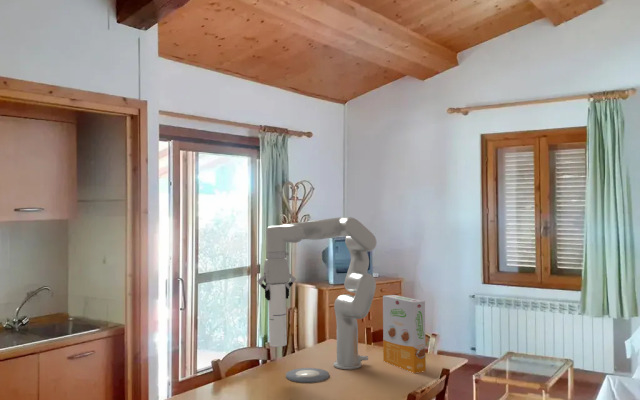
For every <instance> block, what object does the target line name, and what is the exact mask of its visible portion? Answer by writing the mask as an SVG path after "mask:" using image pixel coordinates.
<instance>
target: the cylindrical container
mask: <svg viewBox="0 0 640 400" xmlns="http://www.w3.org/2000/svg"><path fill="white" fill-rule="evenodd" d="M269 291H270V300H267V301H268V333H269V334H268V335H269V336H268V338H269V339H268V342H269V346H270V347H274V348H275V347H276V348H277V347H279V348H280V347H286V346H287V344H288V343H287V341H288V340H287V339H288V338H287V336H288V335H287V334H288V333H287V332H288V331H287V299H286V287H285V283H279V284H271V285H270V287H269Z"/></svg>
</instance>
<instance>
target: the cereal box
mask: <svg viewBox="0 0 640 400" xmlns="http://www.w3.org/2000/svg"><path fill="white" fill-rule="evenodd" d="M382 325H383V326H382V328H383V329H382V333H383V335H382V336H383V337H382V339H383V342H382V344H383V346H382V347H383V351H382V352H383V358H382V359H383V360H382V361H383V362H384V361H385V363H387V362H388V363H387V364H389V363H390V364H389V365H392V364H393V365H392V366H394V365H395V367H397V366H398V367H397V368H399V367H401V368H400V369H402V368H403V369H402V370H404V369H405V370H404V371H407V370H408V371H407V372H409V371H411V372H410V373H412V372H413V373H412V374H417V373H416V372H419V373H423V372H422V371H425V372H426V371H427V370H426V369H427V368H426V366H427V365H426V359H427V358H426V301H425V300H421V299H416V298H412V297H411V298H410V297H406V296H401V295H397V294H388V295H387V294H386V295H383V296H382Z"/></svg>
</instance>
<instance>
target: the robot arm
mask: <svg viewBox="0 0 640 400" xmlns="http://www.w3.org/2000/svg"><path fill="white" fill-rule="evenodd" d="M340 237H345V239H344V241H345V246H346V248H347V250H348V252H349V256H350V263H349V267H348V269H347V272H346V276H345V278H344V283H343V286H344V288H345V290H346V291H347V292H349V293H352V294H354V295H352V294H344V293H343V294H340V295H339V296H337V297H336V299H335V300H334V303H333V305H334V306H333V308H334V313H335V321H336V322H335V323H336V361H334V362H333V363H332V364H333V365H332V366H333V367H334V368H336V369H340V370H356V369H360V368H361V367H362V362H363V361H368V360H369V357H368V355H359V330H358V329H359V324H358V320H363V319H364V318H366V317H367V315H368V314H369V311H370V309H371V306H372V303H373V300H374V297H375V293H376V289H377V283H376V279H375V277H374V276H373V275H372V274H370V273H368V270H369V266H370V259H369V254H368V252H372V251H373V250H374V249H376V246H377V238H376V236H375V235H374V233H372V231H370V229H368V228H367V227H366V226H365V225H364V224H363V223H362V222H361V221H359V219H356V218H355V217H352V216H350V217H347V216H346V217H344V216H342V217H341V216H339V217H332V218H331V217H330V218H325V219H323V218H322V219H316V220H309V221H304V222H303V221H302V222H296V223H295V222H294V223H285V224H281V225H270V226H268V227H267V228H266V259H265V260H264V265H263V275H262V276H261V277H260V278H259V279H258V280H257V281H256V282H257V283H258V285H260V287H261V288H262V289H263V290H264V298H265V299H266V300H267V301H268V300H270V291H269V287H270V285H271V284H279V283H285V287H286V300H287V299H289V296H290V289H291V287H292V286H293V284H294V283H295V281H296V279H297V278H296V277H295V276H293V275H292V274H290V269H289V263H288V259H287V257H288V256H289V252H288V251H286V243H290V244H296V243H299V242H301V241H303V240H313V241H314V240H315V241H317V240H319V241H320V240H324V239H332V238H340ZM263 282H264V283H265V284H264V283H263Z"/></svg>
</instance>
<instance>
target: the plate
mask: <svg viewBox="0 0 640 400" xmlns="http://www.w3.org/2000/svg"><path fill="white" fill-rule="evenodd" d="M329 377H330V373H329V371H327V370H325V369H323V368H322V369H321V368H315V367H301V368H295V369H291V370H289V371H287V372H286V373H285V378H286V379H287V380H288V381H291V382H294V383H303V384H304V383H305V384H309V383H319V382H324V381H326V380H328V379H329Z"/></svg>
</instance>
